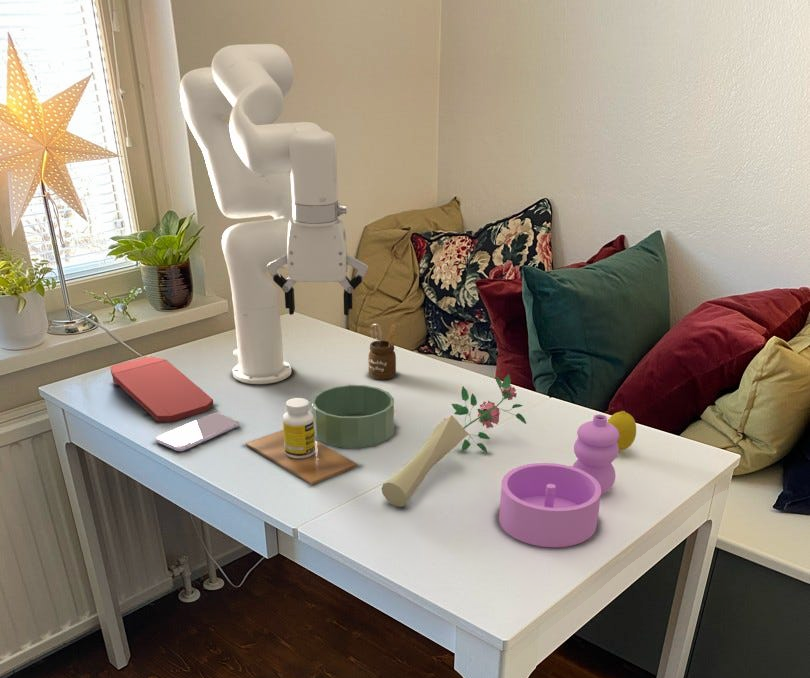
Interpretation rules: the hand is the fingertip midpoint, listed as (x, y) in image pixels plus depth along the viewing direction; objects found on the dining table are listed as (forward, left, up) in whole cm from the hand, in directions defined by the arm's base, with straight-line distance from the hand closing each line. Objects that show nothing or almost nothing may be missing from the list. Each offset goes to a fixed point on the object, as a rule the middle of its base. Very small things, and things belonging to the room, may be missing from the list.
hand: (319, 312), depth 155 cm
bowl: (+4, +4, -23) cm, 23 cm away
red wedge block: (-34, -16, -23) cm, 44 cm away
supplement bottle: (+6, -10, -22) cm, 25 cm away
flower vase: (+27, +7, -23) cm, 36 cm away
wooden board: (+6, -10, -23) cm, 26 cm away
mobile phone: (-14, -19, -23) cm, 33 cm away
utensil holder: (-13, +26, -23) cm, 37 cm away
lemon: (+43, +34, -23) cm, 59 cm away
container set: (+50, +10, -23) cm, 56 cm away
